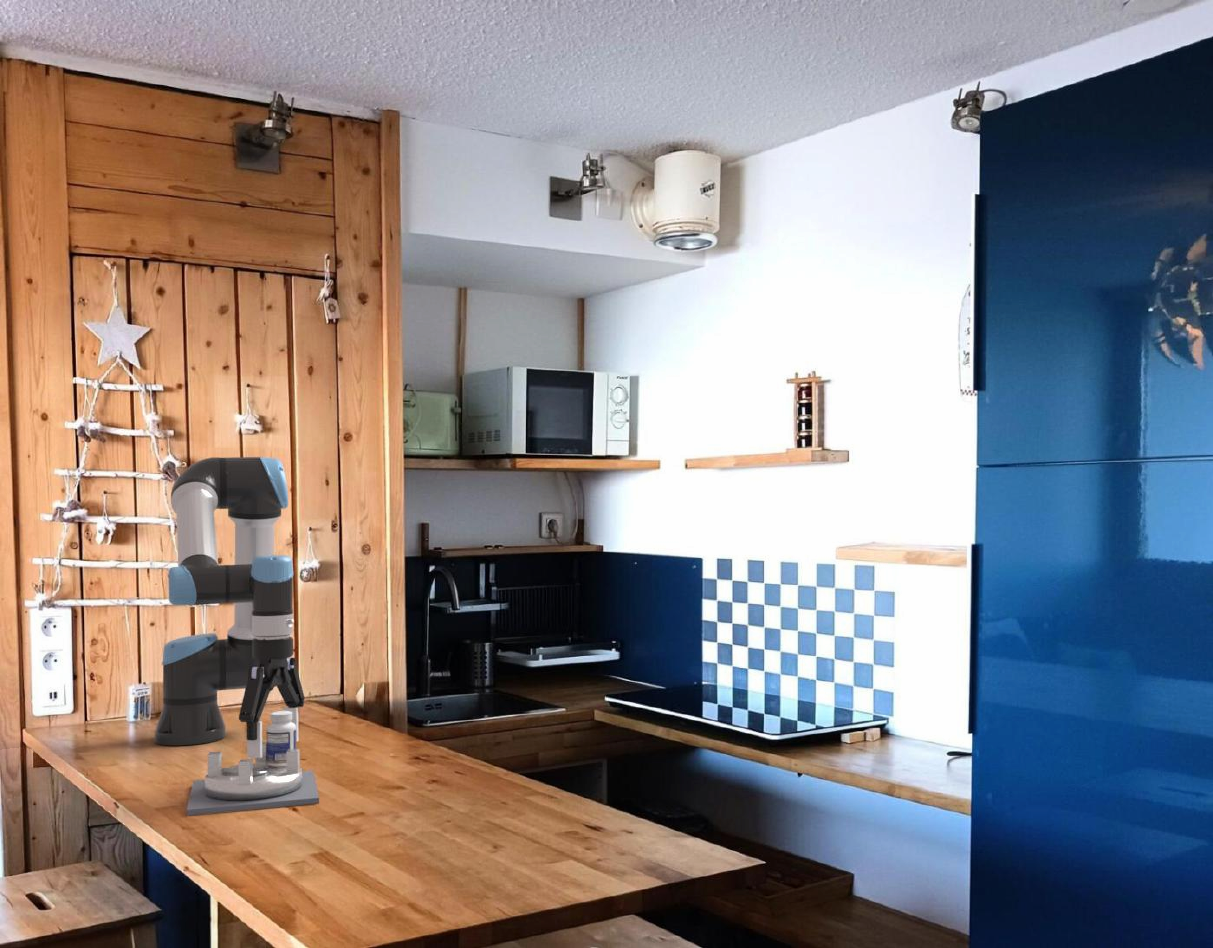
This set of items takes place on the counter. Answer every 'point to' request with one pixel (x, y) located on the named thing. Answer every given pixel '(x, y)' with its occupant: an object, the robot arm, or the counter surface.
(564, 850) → the counter surface
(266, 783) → the grey shallow round piece
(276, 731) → the pill bottle
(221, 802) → the grey square plate
